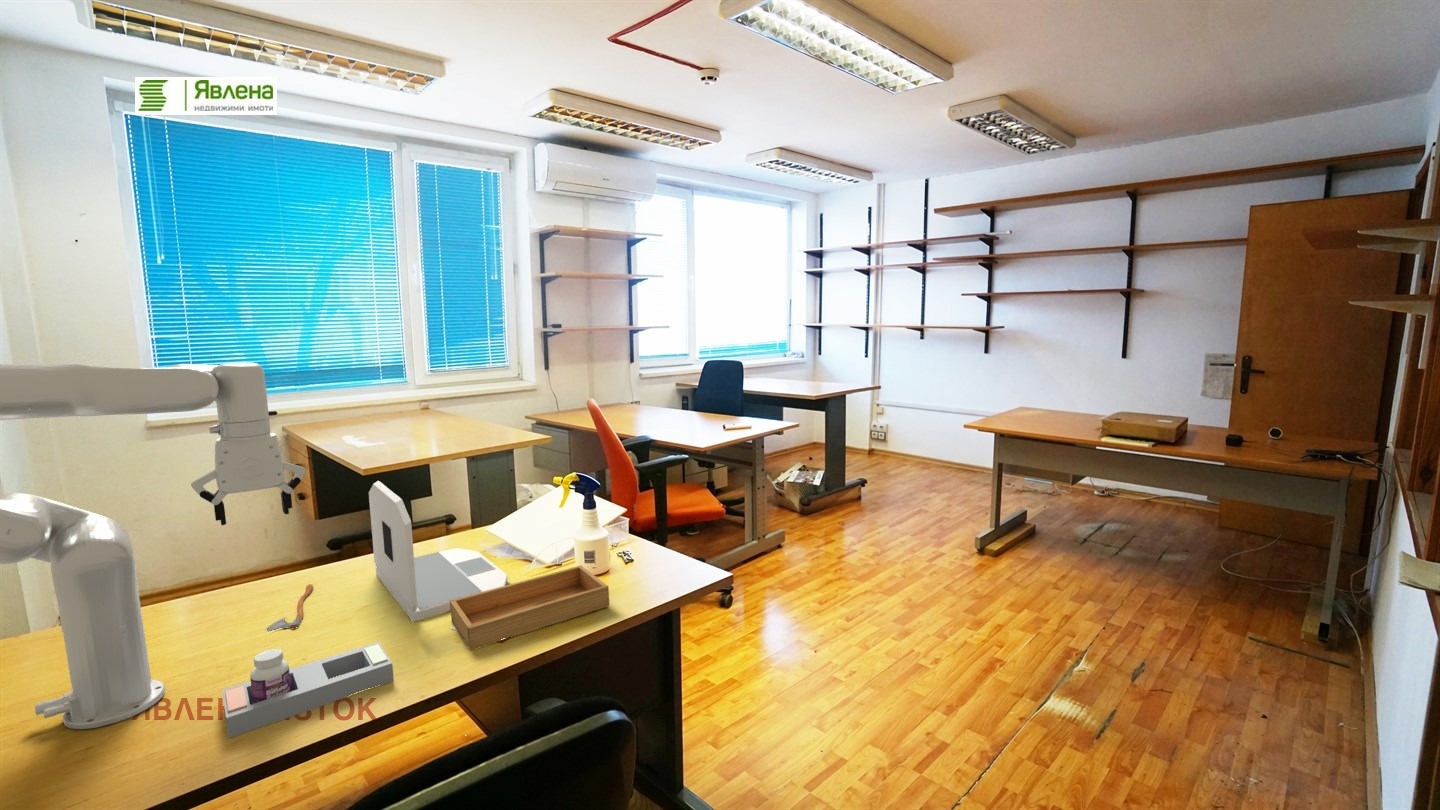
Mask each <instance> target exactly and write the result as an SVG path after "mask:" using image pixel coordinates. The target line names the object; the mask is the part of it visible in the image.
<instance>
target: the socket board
mask: <svg viewBox="0 0 1440 810" xmlns="http://www.w3.org/2000/svg"><path fill="white" fill-rule="evenodd" d="M393 667H394V666H393V662H392V660H391V658H390V657H389V656H388V654H387V652H386V651H385V650H384V648H383V646H382V645H381V643H380V641H377V642H374V643H370V644H367V645H362V646H360V647H356V648H354V649H350V650H347V651H344V652H341V653H338V654H334V655H331V656H328V657H325V658H322V659H318V660H314V661H312V662H309V663H308V662H307V663H306V664H301V665H299V666H296V667H292V668H289V672H290V682H291V692H288V693H285V694H282V695H279V696H276V697H273V698H270V699H267V700H264V701H261V702H258V703H255V704H253V698H252V689H251V680H249V681H247V682H244V683H240V684H237V685H234V686H230V687H228V688H225V689H224V688H222V691H221V692H222V700H223V706H224V707H223V708H224V714H225V723H226V728H227V736H228V739H231V738H234V737H236V736H239V735H242V734H244V733H248V732H250V731H254V730H257V729H260V728H262V727H265V726H269V725H271V724H273V723H277V722H280V721H283V720H285V719H289V718H292V717H294V716H297V715H300V714H302V713H307V712H308V711H311V710H314V709H317V708H320V707H322V706H325V705H328V704H331V703H334V701H335V702H337V701H339V699H340V700H342V699H341V698H343V699H345V698H344V697H346V698H348V697H347V696H349V695H351V694H354V693H356V692H359V691H362V690H365V689H368V688H372V687H375V686H378V685H380V686H383V685H386V684H389V683H392V682H394V681H395V678H394V670H393V669H394V668H393ZM358 669H359V670H358ZM355 670H356V671H355ZM339 675H340V676H339ZM336 676H337V677H336ZM333 677H334V678H333ZM330 678H331V679H330ZM385 683H386V684H385ZM382 684H383V685H382ZM378 687H379V686H378ZM375 688H376V687H375ZM372 689H373V688H372ZM349 697H350V696H349ZM336 700H337V701H336Z"/></svg>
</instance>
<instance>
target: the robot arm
mask: <svg viewBox="0 0 1440 810" xmlns="http://www.w3.org/2000/svg"><path fill="white" fill-rule="evenodd" d="M213 402H215V403H216V409H217V418H218V423H216V424H215V425H211V426H209V427H208V428H209V434H210V435H212V434H214V435H219V438H216V439H215V445H214V470H211V471H210V472H208V473H206V474H204V475H203V476H201V477H199V478H197V479H195V480H193V481H192V482H190V483H191V484H190V486H191V488H192V489H193V490H194V491H195V492H196V493H197V495H199V496H200V499H203V500H206V502H209V503H210V504H212V505H213V510H214V516H215V517H214V518H215V521H220V525H221V526H225V525H227V520H226V519H227V518H226V509H225V503H224V501H223V499H225V497H226V496H227V495H229V494H230V495H231V494H238V493H246V492H252V491H260V490H265V489H273V488H276V487H278V488H279V489H280V490H281V492H280V496H281V497H280V498H281V499H280V500H281V507H282V512H283V514H284V515H290V510H289V509H292V508H293V501H292V500H293V499H292V493H293V491H294V490H295V489H296V488H297V486H299V484H300V483H301V481H302V480H303V477H304V476H305V473H306V471H307V470H306V468H305V467H304V466H301V465H298V464H295V463H294V464H293V463H290V462H286V461H284V460H283V456H282V451H281V450H282V449H281V446H280V442H279V439H278V437H277V434H276V433H274V432H271V423H270V415H269V405H268V395H267V386H266V376H265V370H264V368H263V366H262V365H260V364H258V363H257V362H256V363H255V362H232V363H230V362H229V363H221V364H219V365H218V364H215V365H214V364H211V365H210V364H193V363H178V364H173V365H171V366H168V367H136V368H135V367H107V366H97V365H91V364H86V363H74V362H73V363H71V362H70V363H69V362H68V363H67V362H61V363H60V362H57V363H55V362H54V363H53V362H52V363H8V364H7V363H5V364H4V363H1V364H0V421H5V420H6V421H9V420H26V419H28V420H29V419H46V418H47V419H48V418H66V417H99V416H114V415H115V416H117V415H147V414H148V415H150V414H151V415H152V414H165V413H166V414H167V413H182V412H183V413H184V412H185V413H186V412H195V411H198V410H203V409H205V408H207V407H209V406H210V405H211V404H213ZM285 470H287V471H288V472H289V471H290V472H292V473H294V476H293V477H292V479H290V480H289V481H288V483H287V482H286V481H285V479H286V478H285V475H286V474H285ZM214 480H216V486H217V490H216V491H215V493H212V492H211V491H209V490H207V489H206V488H205V487H204V486H205V485H206V484H208V483H210V482H211V481H214ZM133 547H134V546H133V544H132V541H131V539H130V536H129V533H128V532H127V530H126V529H125V527H124V526H123V525H122V524H121V523H120V522H118V521H116V520H114V519H113V518H110V517H107V516H105V515H101V514H98V513H95V512H92V511H89V510H85V509H81V508H78V507H75V506H72V505H68V504H66V503H63V502H59V501H56V500H53V499H50V498H45V497H43V496H40V495H34V494H29V493H22V492H7V493H6V492H5V493H1V494H0V565H9V564H10V565H11V564H17V563H21V562H23V561H26V560H29V559H35V560H39V561H43V562H46V563H50V571H51V578H52V579H51V580H52V583H53V588H54V593H55V598H56V604H57V607H58V608H57V609H58V612H59V613H58V614H59V618H60V619H59V620H60V624H61V632H62V634H63V641H64V642H63V643H64V647H65V652H66V659H67V665H68V671H69V678H70V683H71V690H70V692H67V693H64V694H63V695H62V696H61V697H58V698H54V699H48V700H45V701H40V702H37V703H35V706H34V711H35V715H36V716H37V717H38V716H40V715H41V716H42V715H43V718H44V719H47V718H51V717H54V716H57V715H59V714H63V715H62V721H63V724H64V726H65V727H66V726H67V727H66V728H68V729H73V730H89V729H95V728H101V727H104V726H108V725H112V724H116V723H118V722H121V721H124V720H127V719H129V718H132V717H134V716H136V715H138V714H140V713H142V712H145V711H146V710H148V709H149V708H151V707H153V706H154V705H155V704H157V703H158V702H159V701H160V700H161V699H162V698H163V697H164V695H165V692H166V691H165V690H166V688H165V683H164V682H162V681H160V680H157V679H152V675H151V670H150V662H149V654H148V648H147V642H146V634H145V627H144V620H143V613H142V607H141V601H140V594H139V586H138V585H139V584H138V579H137V578H138V577H137V575H138V574H137V565H136V555H135V551H134V548H133Z"/></svg>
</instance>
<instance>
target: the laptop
mask: <svg viewBox="0 0 1440 810" xmlns="http://www.w3.org/2000/svg"><path fill="white" fill-rule="evenodd" d="M368 502H369V513H370V524H371V526H370V527H371V534H372V535H371V537H372V548H373V549H372V550H373V561H374V564H375V566H376V567H375V574H376V576H377V578H378V579H379V580H380V581H381V583H382V584H383V585H384V587H386V589H387V590H388V591H389V593H390V594H391V596H393V598H394V599H395V600H396V602H397V603H398V604H399V606H400V607H401V608H402V609H403V611H404V612H405V613H406V614H407V615H408V617H409V618H410V620H411V621H412V622H417V621H420V620H422V619H427V618H430V617H434V616H437V615H439V614H440V615H441V614H443V613H446V612H451V608H450V600H453V599H457V598H461V597H464V596H468V595H472V594H476V593H480V592H483V591H487V590H491V589H495V588H498V587H502V586H506V585H507V583H508V577H509V575H508V573H506V572H505V571H504V570H502V569H501V568H499V566H496V564H494V563H493V562H492V561H490V560H489V559H488V558H486V557H485V556H484V555H482V553H480V552H479V551H478V550H470V549H465V548H458V547H456V548H451V549H447V550H443V551H436V552H431V553H428V554H423V555H419V556H414V554H415V553H414V542H413V530H412V529H413V528H412V520H411V517H410V515H409V513H408V511H407V509H406V506H405V503H404V501H403V499H402V498H401V497H400V496H399V495H397V494H396V493H394V491H392V490H391V489H390V488H388V487H387V486H386V485H385V484H384V483H383V482H381V481H379V480H377V481H376V482H374V483H373V484H372V485H371V487H370V490H369V491H368Z"/></svg>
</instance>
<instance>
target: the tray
mask: <svg viewBox="0 0 1440 810" xmlns="http://www.w3.org/2000/svg"><path fill="white" fill-rule="evenodd" d="M609 591H610V589H609V585H608V584H606V583H605V582H603V581H602V580H601V579H600V578H598V577H597V576H596V575H594V574H593V572H590V570H588V569H587V568H585V566H583V565H577V566H574V567H570V568H566V569H563V570H558V571H555V572H551V573H548V574H544V575H540V576H536V577H532V578H529V579H528V578H527V579H526V580H525V579H524V580H521V581H518V582H515V583H514V582H512V583H510V584H506V586H502V587H498V588H495V589H491V590H487V591H483V592H480V593H476V594H472V595H468V596H464V597H461V598H457V599H453V600H450V608H451V610H450V617H451V618H450V619H451V622H452V625H454V627H455V629H456V631H457V630H458V631H457V632H458V634H459V636H460V637H461V638H462V640H463V641H464V643H465V644H466V647H467V648H468V647H469V648H468V649H469V650H470V651H473V649H475V650H477V649H476V648H478V649H480V648H479V647H481V648H483V646H484V647H486V646H485V645H487V646H490V645H493V644H495V642H496V643H498V642H497V641H499V640H501V639H503V638H508V637H511V638H514V637H513V636H515V637H518V636H520V635H523V634H527V633H529V632H533V631H536V630H539V628H540V629H542V627H543V628H545V626H546V627H548V625H549V626H551V624H552V625H555V624H558V623H561V622H563V621H568V620H570V619H573V618H577V617H579V616H583V615H585V614H586V615H587V614H589V612H590V613H592V611H593V612H596V611H599V610H602V609H605V608H607V607H608V608H609V607H610V592H609ZM595 610H596V611H595ZM567 619H568V620H567ZM535 629H536V630H535ZM532 630H533V631H532ZM517 635H518V636H517ZM508 639H509V638H508ZM499 642H500V641H499ZM492 643H493V644H492ZM489 644H490V645H489Z"/></svg>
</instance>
